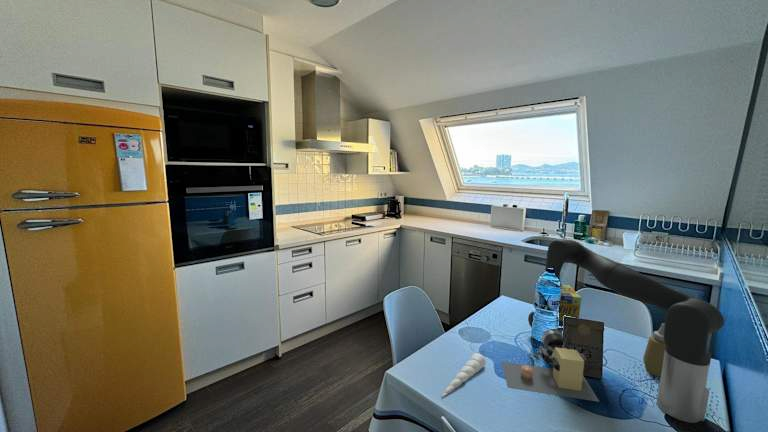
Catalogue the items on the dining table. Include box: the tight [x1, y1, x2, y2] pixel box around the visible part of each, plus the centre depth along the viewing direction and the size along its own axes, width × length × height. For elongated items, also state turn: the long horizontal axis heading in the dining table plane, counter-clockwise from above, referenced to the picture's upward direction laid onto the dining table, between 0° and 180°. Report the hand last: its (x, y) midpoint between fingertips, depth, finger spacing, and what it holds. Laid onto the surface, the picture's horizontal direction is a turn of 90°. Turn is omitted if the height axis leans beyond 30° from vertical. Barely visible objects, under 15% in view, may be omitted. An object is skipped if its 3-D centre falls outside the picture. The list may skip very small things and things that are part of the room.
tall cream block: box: [552, 347, 584, 391], centre depth 101 cm, size 6×6×10 cm
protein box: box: [559, 284, 582, 327], centre depth 144 cm, size 10×15×16 cm
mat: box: [501, 361, 601, 403], centre depth 103 cm, size 26×14×1 cm, turn 77°
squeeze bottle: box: [642, 323, 666, 378], centre depth 107 cm, size 8×8×18 cm
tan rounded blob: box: [521, 364, 533, 380], centre depth 104 cm, size 4×4×3 cm
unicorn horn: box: [441, 352, 487, 398], centre depth 103 cm, size 5×24×5 cm, turn 132°
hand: (570, 370), depth 99 cm, fingers closed on tall cream block, 6 cm apart
